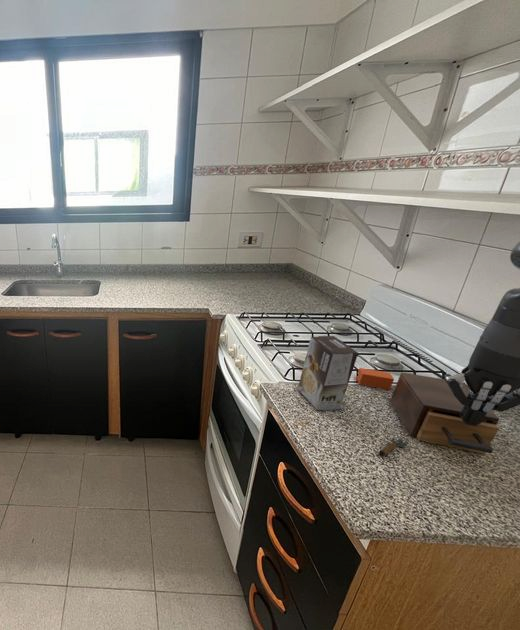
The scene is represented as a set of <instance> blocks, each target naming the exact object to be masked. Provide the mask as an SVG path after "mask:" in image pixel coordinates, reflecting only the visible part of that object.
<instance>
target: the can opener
mask: <svg viewBox="0 0 520 630" xmlns="http://www.w3.org/2000/svg"><path fill="white" fill-rule="evenodd" d="M395 440H396V438H391V443H390V444H388V445H387V446H385V447H383V448H381V450H379V452H378V454H379V455H380V456H382V457H385V456H386V455H388V454H390V453H391V452H392V451H393V450H395V449H396V448H397V447H399V448H406V447H407V446H408V441H407V440H406V441H404V439H403V438H402V437H400V438H399V439H398V440H396V441H395Z"/></svg>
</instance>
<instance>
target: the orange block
mask: <svg viewBox="0 0 520 630" xmlns="http://www.w3.org/2000/svg"><path fill="white" fill-rule="evenodd" d="M357 374H358V376H357V375H356V377H355V379H356V381H357V383H358V385H360V386H366V387H372V388H378V389H384V390H388V391H390V390H391V388H392V386H393V384H394V381H395V378H394V377H393V376H392V374H391V373H390V372H388V371H383V370H382V371H381V370H375V369H370V368H363V367H359V368H358V371H357Z"/></svg>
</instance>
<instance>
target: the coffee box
mask: <svg viewBox="0 0 520 630" xmlns="http://www.w3.org/2000/svg"><path fill="white" fill-rule="evenodd" d="M358 355H359V351H357V350H356V349H354V348H352V347H350V346H349V345H348V344H346V343H345V342H343V341H342V340H341V339H339V338H337V337H336V336H334V335H319V336H310V338H309V342H308V347H307V350H306V354H305V358H304V362H303V367H302V369H301V375H300V379H299V382H298V385H297V391H299V392H300V393H301V394H302V395H303V397H304V398H305V399H306V400H307V401H308V402H309V403H310V404H311V406H313V407H314V408H315V409H316V410H317V411H322V410H323V411H324V410H325V411H326V410H329V411H330V410H340V409H341V408H342V405H343V401H344V399H345V395H346V393H347V389H348V387H349V383H350V380H351V377H352V374H353V370H354V368H355V365H356V361H357V358H358Z"/></svg>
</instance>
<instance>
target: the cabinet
mask: <svg viewBox="0 0 520 630" xmlns="http://www.w3.org/2000/svg"><path fill="white" fill-rule="evenodd" d="M467 388H468V385H467V383H466V382H464V381H463V386H462V387H461V389H462V391H463V392H464V394H465V396H467V393H468V392H467ZM389 401H390V403H391V405H392V406H393V408H394V410H395V412H396V413H397V415H398V417H399V419H400V421H401V422H402V425H403V426H404V428H405V429H406V431H407V433H408V435H409V436H410V437H412V438H417V439H418V437H417V434H418V428H419V426H420V424H421V422H422V420H423V417H424V415H425V413H426V411H427V409H432V410H437V411H442V412H448V413H453V414H458V415H460V413H461V411H462V409H463V407H464V405H462V404H461V403H460V402H459V401H458V399H457V398H456V397H455V396H454V394H453V392H452V391H451V389H450V387H449V386H448V384H447V382H446V381H445V379H444V378H439V377H432V376H426V375H420V374H414V373H409V372H400V374H399V377H398V380H397V382H396V385H395V387H394V389H393V392H392V395H391V397H390V398H389ZM484 419H485V420H487V421H486V423H491V424H496V425H497V424H498V423H499V421H500V418H499V416H497V415H496V414H495V412H493V410H491V411H490V412H487V414H486V416H485V418H484Z"/></svg>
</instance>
